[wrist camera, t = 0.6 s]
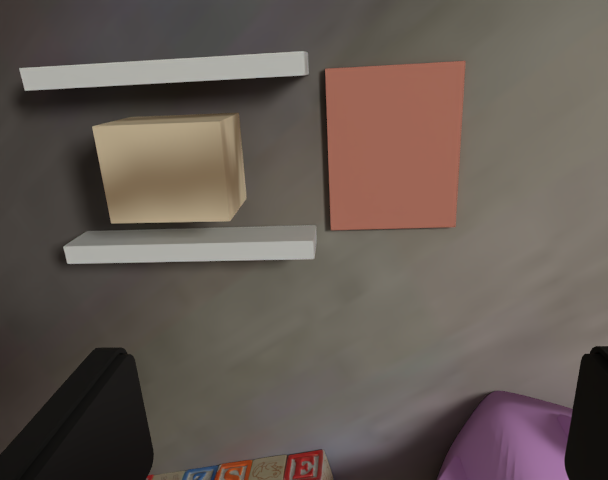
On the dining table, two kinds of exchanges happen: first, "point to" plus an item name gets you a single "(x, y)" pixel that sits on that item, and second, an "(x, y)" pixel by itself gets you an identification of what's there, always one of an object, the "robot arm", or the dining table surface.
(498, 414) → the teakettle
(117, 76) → the channel
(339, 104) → the pad
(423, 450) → the dining table surface
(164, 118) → the maple block
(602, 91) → the dining table surface
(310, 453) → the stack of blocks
